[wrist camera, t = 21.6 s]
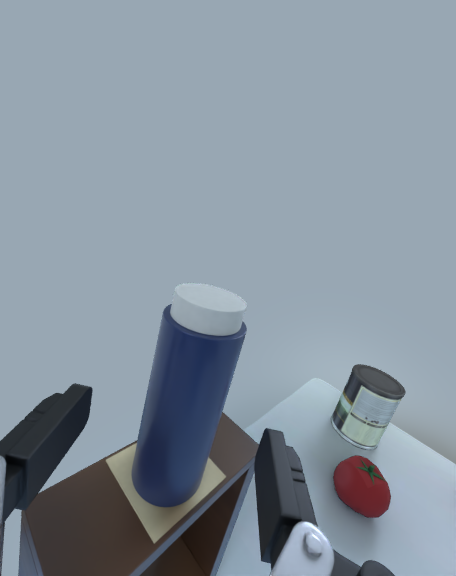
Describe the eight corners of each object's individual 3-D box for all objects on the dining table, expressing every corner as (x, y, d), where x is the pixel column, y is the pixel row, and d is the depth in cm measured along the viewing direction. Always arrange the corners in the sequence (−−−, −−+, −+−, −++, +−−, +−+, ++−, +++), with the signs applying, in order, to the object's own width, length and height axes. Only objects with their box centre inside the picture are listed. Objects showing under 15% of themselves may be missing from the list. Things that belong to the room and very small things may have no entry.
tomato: (352, 472, 48) (368, 442, 46) (391, 522, 41) (410, 488, 39) (319, 479, 45) (334, 447, 43) (354, 534, 38) (374, 498, 36)
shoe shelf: (38, 816, 17) (62, 637, 11) (13, 679, 21) (21, 500, 15) (211, 586, 29) (263, 447, 23) (174, 528, 33) (210, 399, 28)
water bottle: (211, 497, 18) (269, 318, 14) (132, 517, 16) (177, 310, 12) (192, 435, 23) (233, 286, 19) (130, 443, 20) (161, 276, 17)
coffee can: (321, 416, 61) (343, 365, 57) (349, 410, 66) (371, 362, 62) (358, 455, 52) (387, 398, 49) (387, 445, 57) (415, 392, 54)
